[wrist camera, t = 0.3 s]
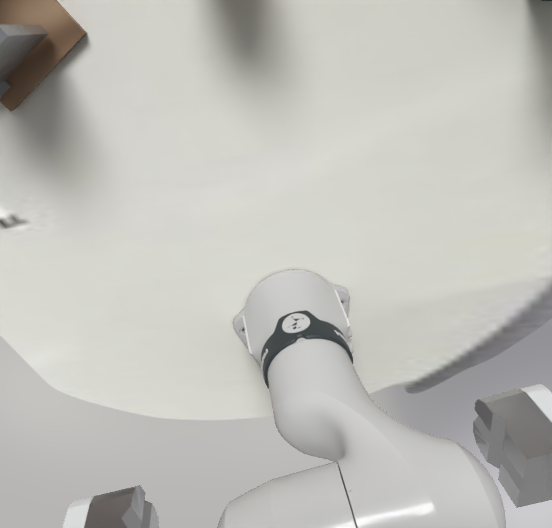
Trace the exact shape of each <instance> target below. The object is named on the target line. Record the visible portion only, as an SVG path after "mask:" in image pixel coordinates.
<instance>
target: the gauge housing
mask: <svg viewBox="0 0 552 528" xmlns="http://www.w3.org/2000/svg"><path fill="white" fill-rule="evenodd" d="M0 25H41V26H42V27H43V28H44V29H45V30H46V31H47V32H48V33H49V34H48V35H47V36H46V37H45V38H44V39H43V41H42V42H41V43H40V44H39V45H38V46H37V47H36V48H35V49H34V50H33V51H32V52H31V54H30V55H29V56H28V57H27V58H26V59H25V60H24V61H23V62H22V63H21V64H20V66H19V67H18V68H17V69H16V70H15V71H14V72H13V73H12V74H11V75H10V76H9V77H8V79H7V80H6V81H4V82H1V83H0V102H1V103H3V104H4V105H5V106H6V107H7V108H8V109H9V110H10V111H12V110H15V109H16V108H17V107H18V105H19V104H20V103H21V102H22V101H23V100H24V99H25V98H26V97H27V96H28V95H29V94H30V93H31V92H32V91H33V90H34V89H35V88H36V86H37V85H38V84H39V83H40V82H41V81H42V80H43V79H44V78H45V77H46V76H47V75H48V74H49V73H50V72H51V71H52V70H53V69H54V68H55V66H56V65H57V64H58V63H59V62H60V61H61V60H62V59H63V58H64V57H65V56H66V55H67V54H68V53H69V52H70V51H71V50H72V49H73V47H74V46H75V45H76V44H77V43H78V42H79V41H80V40H81V39H82V38H83V37H84V36H85V35H86V34H87V33H86V32H85V31H84V30H83V29H82V27H81V26H80V25H79V24H78V23H77V22H76V21H75V20H74V19H73V18H72V17H71V16H70V15H69V13H68V12H67V11H66V10H65V9H64V8H63V7H62V6H61V5H60V4H59V3H58V2H57V0H0Z"/></svg>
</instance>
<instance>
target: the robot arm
mask: <svg viewBox="0 0 552 528" xmlns="http://www.w3.org/2000/svg"><path fill="white" fill-rule="evenodd" d="M341 301H342V302H341ZM348 308H349V294H348V291H347V289H345V288H343V287H340V286H336V285H332V284H330V283H328V282H327V281H326V280H324V279H323V278H322V277H320V276H319V275H317V274H314V273H312V272H308V271H303V270H288V271H283V272H279V273H276V274H274V275H272V276H270V277H268V278H266V279H265V280H263V281H262V282H261V283H259V284H258V285H257V286H256V287H255V289H254V290H253V291H252V293H251V294H250V296H249V298H248V300H247V303H246V305H245V308H244V309H243V310H242V311H241V312H240V313H239V314H238V315H237V316H236V317H235V319H234V321H233V325H234V328H235V330H236V332H237V333H238V335H239V336H240V337H241V339H242V340H243V342H244V343H245V345H246V346H247V348H248V349H249V352H250V354H251V355H253V356H254V358H255V359H256V361H257V362H258V364H259V365H260V367H261V368H262V374H263V376H264V380H265V383H266V385H267V387H268V388H269V390H270V396H271V402H272V407H273V413H274V419H275V424H276V427H277V429H278V431H279V433H280V434H281V436H282V437H283V438H284V439H285V440H286V441H287V442H288V443H289V444H290V445H292V446H293V447H294V448H296V449H298V450H299V451H301V452H303V453H305V454H308V455H311V456H316V457H320V458H324V459H328V460H331V461H334V462H333V463H329V464H326V465H322V466H318V467H315V468H311V469H308V470H305V471H301V472H297V473H293V474H290V475H286V476H283V477H279V478H276V479H272V480H270V481H268V482H266V483H264V484H262V485H260V486H258V487H256V488H254V489H252V490H250V491H248V492H247V493H245V494H243V495H241V496H239V497H238V498H236V499H234V500H232V501H231V502H229V503H228V505H227V506H226V508H225V510H224V512H223V514H222V516H221V518H220V521H219V524H218V526H217V528H506V521H505V511H504V506H503V502H502V499H501V496H500V493H499V491H498V488H497V486H496V484H495V482H494V480H493V478H492V477H491V475H490V474H489V472H488V471H487V469H486V468H485V467H484V465H483V464H482V463H481V462H480V461H479V460H478V459H477V458H476V457H475V456H474V455H473V454H472V453H471V452H469V451H468V450H467V449H466V448H464V447H463V446H461V445H460V444H458V443H456V442H454V441H452V440H450V439H445V438H441V437H437V436H433V435H430V434H426V433H424V432H421V431H418V430H416V429H414V428H412V427H409V426H407V425H405V424H404V423H402V422H400V421H398V420H397V419H395V418H394V417H392V416H391V415H389V414H388V413H387V412H385V411H384V410H383V409H381V408H380V407H379V406H378V405H377V404H376V403H375V402H374V401H373V400H372V399H371V397H370V396H369V394H368V393H367V391H366V390H365V388H364V386H363V384H362V382H361V381H360V379H359V377H358V375H357V373H356V371H355V369H354V366H353V357H352V353H353V344H352V341H351V339H347V338H350V337H352V332H351V329H350V328H348V327H350V323H349V320H348ZM243 328H245V330H243ZM475 411H476V412H477V414H478V415H479V416H478V417H477V418H476V420H475V421H474V422H473V432H474V436H475V440H476V443H477V445H478V447H479V449H480V451H481V453H482V454H483V456H484V458H485V459H486V461H487V462H488V463H490V464H492V465H493V466H495V467H497V468H499V476H498V477H499V478H498V480H499V481H500V483H501V484H502V486H503V487H504V489H505V491H506V492H507V494H508V495H509V497H510V498H511V500H512V501H513V503H514V504H515V506H516V507H522V506H526V505H530V504H535V503H539V502H543V501H548V500H552V393H551V392H550V391H549V390H548V389H547V388H546V387H545V386H543V385H541V384H536V385H532V386H528V387H525V388H521V389H514V390H511V391H507V392H503V393H500V394H496V395H493V396H489V397H485V398H481V399H478V400H477V402H476V403H475ZM337 464H338V466H337ZM338 467H339V469H338ZM339 471H340V472H339ZM62 528H159V521H158V515H157V512H156V509H155V507H154V506H153V504H152V503H150V502H147V501H145V492H144V490H143V489H142V487H141V486H140V485H139V486H135V487H131V488H126V489H122V490H118V491H114V492H110V493H106V494H101V495H97V496H92V497H88V498H84V499H81V500H76V501H73V502H72V504H71V505H70V507H69V509H68V510H67V513H66V516H65V520H64V523H63V527H62Z"/></svg>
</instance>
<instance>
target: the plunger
mask: <svg viewBox="0 0 552 528" xmlns="http://www.w3.org/2000/svg"><path fill="white" fill-rule="evenodd" d="M48 34H49V33H48V32H47V31H46V30H45V29H44V28H43V27H42V26H41V25H0V83H1V82H4V81H6V80H7V79H8V77H9V76H10V75H11V74H12V73H13V72H14V71H15V70H16V69H17V68H18V67H19V66H20V64H21V63H22V62H23V61H24V60H25V59H26V58H27V57H28V56H29V55H30V54H31V52H32V51H33V50H34V49H35V48H36V47H37V46H38V45H39V44H40V43H41V42H42V41H43V39H44V38H45V37H46V36H47V35H48Z"/></svg>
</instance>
